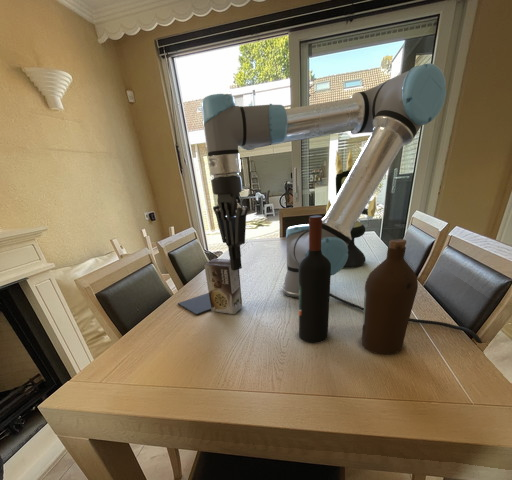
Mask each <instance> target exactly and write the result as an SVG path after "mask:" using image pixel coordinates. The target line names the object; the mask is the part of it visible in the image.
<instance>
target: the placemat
mask: <svg viewBox="0 0 512 480" xmlns="http://www.w3.org/2000/svg"><path fill="white" fill-rule="evenodd" d="M177 304H178V306H180V307H182V308H183V309H185V310H187V311H188V312H190V313H191V314H193V315H195V316H199V315H201V314H204V313H207V312H209V311H210V312H211V304H210V298H209V292H207V293H204V294H200V295H198V296H195V297H192V298H189V299H186V300H184V301H179V302H177Z"/></svg>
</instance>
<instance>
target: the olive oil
mask: <svg viewBox="0 0 512 480" xmlns="http://www.w3.org/2000/svg"><path fill="white" fill-rule="evenodd" d="M406 244H407V240H406V239H403V238H393V239H390V240H389V242H388V247H387V251H386V257H385V259H384V260H383V261H382V262H381V263H379V264H378V265H377V266H376V267H375V268H373V269H372V271H371V272H370V273H369V274H368V275H367V278H366V281H365V284H364V297H363V308H364V311H363V314H362V315H363V316H362V326H361V327H362V328H361V330H362V331H361V346H362V347H363V348H364V349H366V350H367V351H369V352H371V353H373V354H378V355H393V354H397V353H399V352H400V351H402V349H403V346H404V342H405V338H406V333H407V330H408V326H409V323H410V322H409V318H411V314H412V310H413V308H414V304H415V299H416V297H417V292H418V290H419V289H418V288H419V282H418V276H417V275H416V273H415V271H414V270H413V269H412V267H411V266H410V265H409V264H408V263H407V261H406V260H405V255H406V249H407V247H406Z"/></svg>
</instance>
